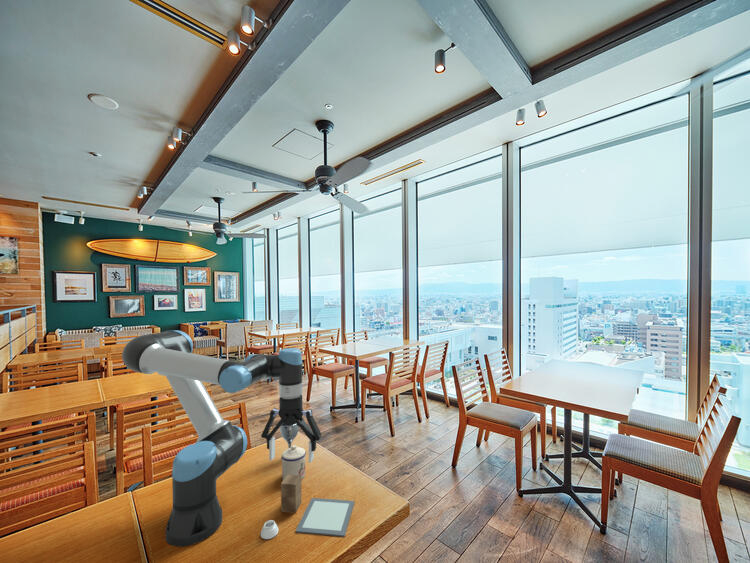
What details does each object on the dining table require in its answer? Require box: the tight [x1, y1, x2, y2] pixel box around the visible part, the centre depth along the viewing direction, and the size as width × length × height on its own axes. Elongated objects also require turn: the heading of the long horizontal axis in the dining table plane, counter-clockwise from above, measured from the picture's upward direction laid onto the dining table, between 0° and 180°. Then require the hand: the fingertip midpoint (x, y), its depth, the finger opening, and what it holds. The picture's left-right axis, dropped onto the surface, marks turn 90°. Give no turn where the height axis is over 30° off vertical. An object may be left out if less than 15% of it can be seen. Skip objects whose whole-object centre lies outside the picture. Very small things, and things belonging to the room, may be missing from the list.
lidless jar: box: [260, 519, 279, 540], centre depth 94 cm, size 5×3×5 cm
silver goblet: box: [279, 423, 300, 460], centre depth 137 cm, size 8×8×15 cm
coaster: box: [295, 497, 355, 537], centre depth 101 cm, size 15×15×1 cm
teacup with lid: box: [281, 444, 306, 481], centre depth 124 cm, size 12×9×12 cm
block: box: [280, 475, 302, 514], centre depth 105 cm, size 5×5×9 cm
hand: (291, 459), depth 106 cm, fingers open, 13 cm apart
